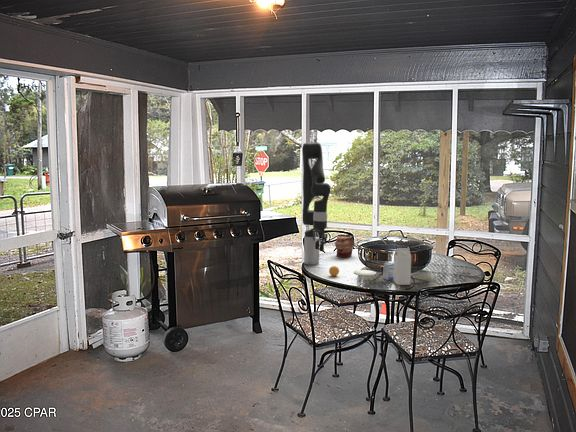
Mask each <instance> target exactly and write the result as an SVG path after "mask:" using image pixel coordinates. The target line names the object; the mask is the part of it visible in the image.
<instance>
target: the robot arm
mask: <svg viewBox="0 0 576 432" xmlns="http://www.w3.org/2000/svg"><path fill="white" fill-rule="evenodd" d="M313 159H314V160H315V159H316V161H315V162H314V164H313V166H311V165H310V162H309V160H313ZM323 159H324V158H323V148H322V144H321V143H320V142H305V143H303V144H302V167H303V170H302V171H303V173H302V174H303V175H302V194H303V197H302V198H303V199H302V205H303V206H302V218H301V219H302V223H303V225H304V226H312V227H313V228H310V229H308V230H305V232H304V244H303V245H304V247H303V248H304V249H303V250H304V251H303V264H304V265H309V266H315V265H319V263H320V252H324V251H325V246H324V245H326V244H327V241H328V239H327V238H328V233H326V232H325V230H326V229H327V228H328V201H329V198H330V194H331V189H332V188H331V185H330V184H329V183H327V182H326V177H325V176H326V175H325V172H324V165H323V163H324V161H323ZM316 197H322V198H321V199H317V200H314V199H315V198H316ZM313 200H314V202H313V210H312V209H309V207H310V205H311V203H312V201H313Z"/></svg>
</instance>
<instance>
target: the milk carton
mask: <svg viewBox="0 0 576 432" xmlns="http://www.w3.org/2000/svg"><path fill="white" fill-rule="evenodd" d="M393 263H394V274H393V280H392V281H393V283H395V284H396V285H399V286H400V285H401V286H403V285H404V286H405V285H406V286H407V285H411V272H412V271H411V269H412V254H411V251H410V248H409V247H407V248H405V247H404V248H402V247H398V248H396V251H395V252H394V254H393Z"/></svg>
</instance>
